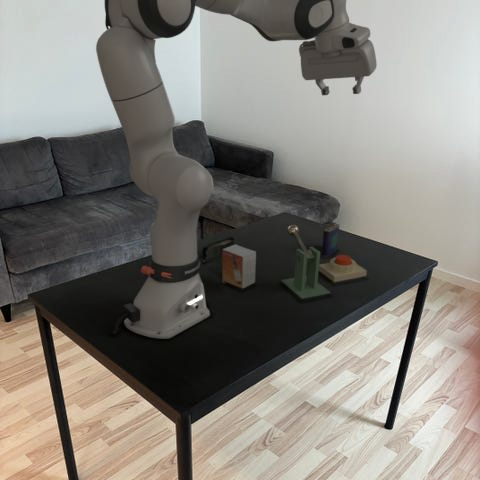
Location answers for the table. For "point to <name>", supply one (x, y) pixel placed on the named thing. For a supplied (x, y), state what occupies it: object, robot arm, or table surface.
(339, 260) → the button
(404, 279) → the table surface
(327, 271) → the button housing
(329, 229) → the flask
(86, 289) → the table surface
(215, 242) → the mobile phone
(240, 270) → the small box
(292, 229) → the lever
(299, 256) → the switch bracket
